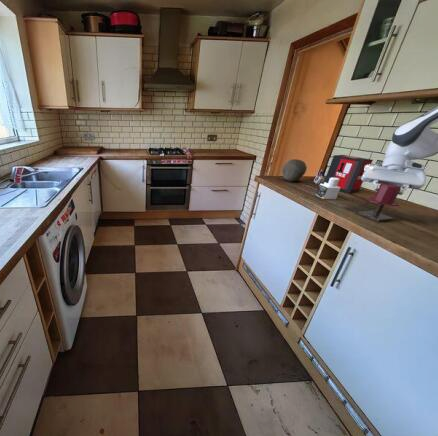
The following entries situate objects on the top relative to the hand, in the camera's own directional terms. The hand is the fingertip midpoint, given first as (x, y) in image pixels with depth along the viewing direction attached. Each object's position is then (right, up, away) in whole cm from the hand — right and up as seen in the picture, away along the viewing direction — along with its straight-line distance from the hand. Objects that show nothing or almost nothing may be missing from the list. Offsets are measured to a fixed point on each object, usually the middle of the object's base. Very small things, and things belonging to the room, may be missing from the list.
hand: (387, 192), depth 102 cm
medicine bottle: (-5, 0, +30) cm, 30 cm away
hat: (0, -4, +3) cm, 5 cm away
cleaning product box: (+18, +8, +47) cm, 51 cm away
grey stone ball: (-6, +15, +60) cm, 62 cm away
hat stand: (0, -11, +6) cm, 13 cm away
